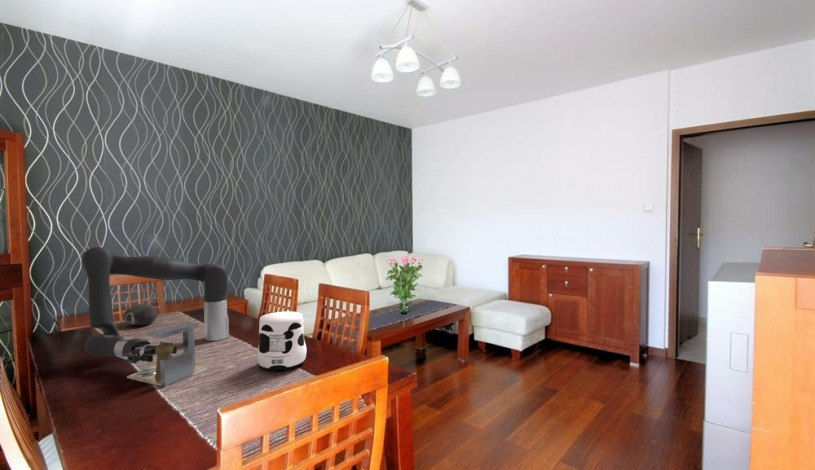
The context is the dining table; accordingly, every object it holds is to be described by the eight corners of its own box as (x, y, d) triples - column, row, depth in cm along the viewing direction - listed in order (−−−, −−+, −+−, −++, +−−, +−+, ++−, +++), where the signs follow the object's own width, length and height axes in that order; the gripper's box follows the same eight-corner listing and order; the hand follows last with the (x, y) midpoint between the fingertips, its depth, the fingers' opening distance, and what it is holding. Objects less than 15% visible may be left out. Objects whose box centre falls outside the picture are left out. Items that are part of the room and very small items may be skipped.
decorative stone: (122, 322, 206) (121, 303, 206) (155, 318, 215) (154, 299, 215) (125, 330, 191) (125, 310, 191) (160, 325, 200) (160, 305, 200)
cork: (165, 380, 131) (164, 347, 131) (150, 379, 132) (149, 346, 132) (179, 373, 137) (178, 341, 137) (164, 372, 138) (163, 340, 138)
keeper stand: (126, 377, 135) (124, 329, 134) (168, 362, 149) (167, 318, 149) (165, 387, 128) (163, 336, 127) (206, 369, 142) (205, 324, 141)
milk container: (292, 353, 159) (291, 308, 158) (315, 364, 146) (314, 316, 145) (249, 364, 146) (248, 316, 146) (270, 378, 134) (269, 325, 133)
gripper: (110, 344, 134) (142, 350, 128) (151, 332, 147) (182, 337, 141) (111, 366, 135) (143, 373, 128) (152, 352, 148) (183, 358, 142)
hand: (164, 354), depth 135 cm, fingers open, 8 cm apart
